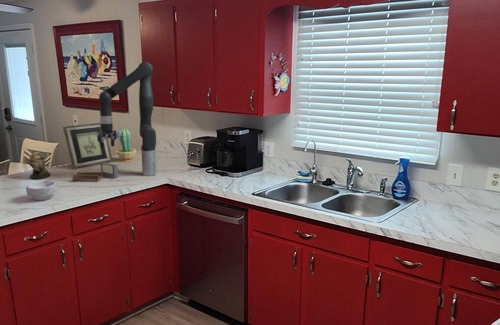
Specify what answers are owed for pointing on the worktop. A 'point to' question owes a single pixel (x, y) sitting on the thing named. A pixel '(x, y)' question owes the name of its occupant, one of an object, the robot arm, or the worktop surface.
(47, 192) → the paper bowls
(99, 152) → the picture frame
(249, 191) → the worktop surface
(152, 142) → the robot arm
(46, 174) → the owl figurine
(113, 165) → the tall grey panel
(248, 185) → the worktop surface
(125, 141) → the potted cactus
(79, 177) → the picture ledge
